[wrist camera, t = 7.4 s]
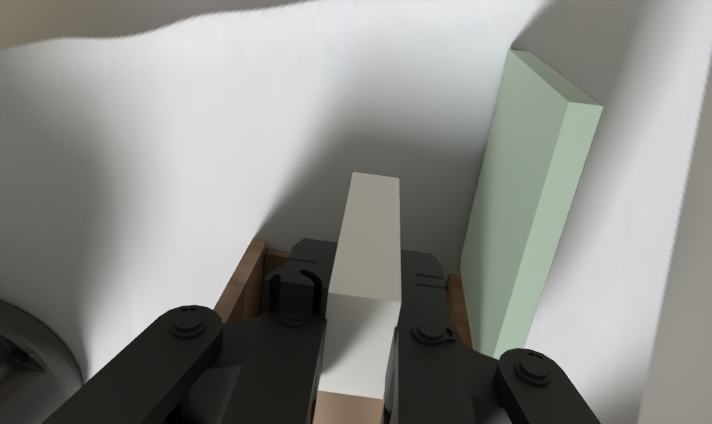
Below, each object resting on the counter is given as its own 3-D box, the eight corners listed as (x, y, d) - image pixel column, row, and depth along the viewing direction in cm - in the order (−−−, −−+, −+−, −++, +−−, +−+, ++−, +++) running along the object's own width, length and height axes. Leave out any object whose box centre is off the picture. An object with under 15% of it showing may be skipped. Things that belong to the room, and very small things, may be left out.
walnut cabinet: (245, 346, 40) (186, 489, 29) (252, 239, 35) (184, 361, 24) (432, 380, 39) (442, 536, 29) (464, 276, 35) (489, 416, 24)
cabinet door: (508, 48, 28) (568, 101, 17) (552, 54, 28) (638, 110, 17) (456, 273, 34) (478, 407, 24) (491, 278, 34) (527, 414, 24)
